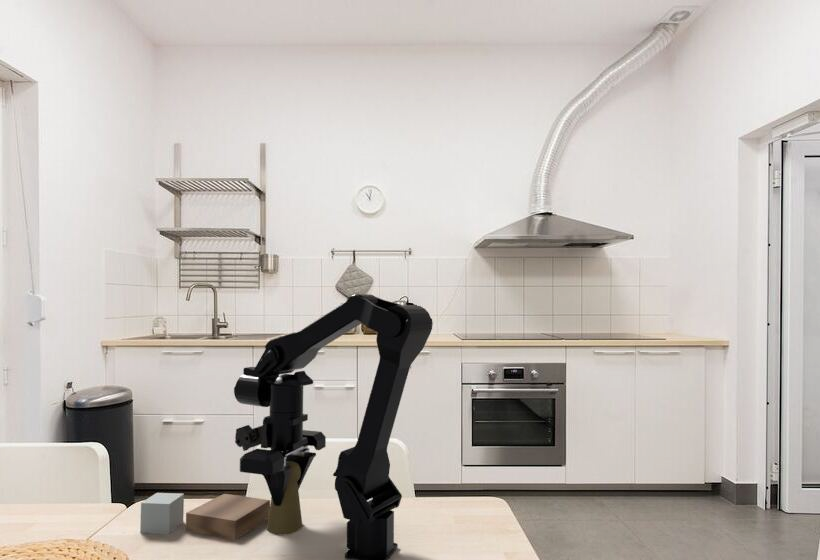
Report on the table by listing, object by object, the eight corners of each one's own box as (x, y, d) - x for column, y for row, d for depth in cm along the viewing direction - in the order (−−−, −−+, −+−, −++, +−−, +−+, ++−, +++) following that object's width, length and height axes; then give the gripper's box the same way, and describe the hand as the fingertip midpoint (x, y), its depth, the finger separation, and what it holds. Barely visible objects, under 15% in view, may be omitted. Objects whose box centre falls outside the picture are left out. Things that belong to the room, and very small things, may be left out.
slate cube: (183, 522, 97) (183, 493, 97) (168, 534, 92) (169, 503, 92) (156, 521, 97) (156, 492, 98) (140, 533, 92) (141, 503, 93)
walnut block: (269, 516, 99) (270, 500, 99) (235, 539, 90) (235, 520, 90) (223, 509, 103) (224, 493, 103) (185, 530, 93) (186, 512, 93)
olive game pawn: (294, 536, 91) (294, 469, 92) (260, 532, 92) (261, 466, 93) (307, 521, 97) (308, 459, 98) (276, 519, 98) (277, 457, 99)
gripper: (276, 398, 107) (275, 479, 106) (212, 417, 89) (210, 514, 89) (327, 401, 103) (326, 485, 103) (271, 422, 86) (269, 523, 85)
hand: (285, 500), depth 95 cm, fingers closed on olive game pawn, 4 cm apart
